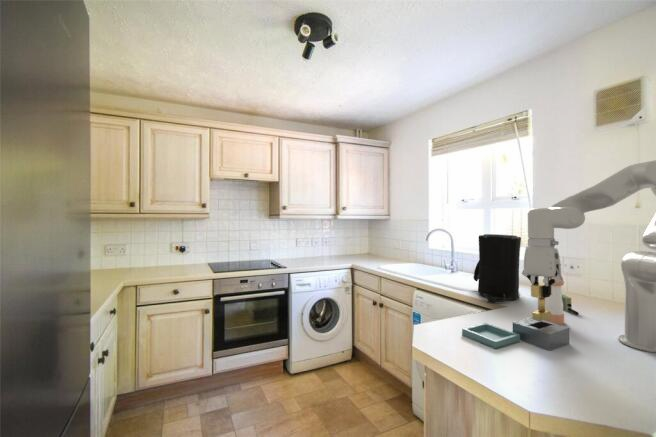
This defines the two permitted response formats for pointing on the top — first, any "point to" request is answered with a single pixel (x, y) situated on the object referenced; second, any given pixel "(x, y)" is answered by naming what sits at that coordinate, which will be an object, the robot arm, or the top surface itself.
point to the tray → (491, 335)
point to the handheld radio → (567, 304)
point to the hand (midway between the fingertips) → (541, 295)
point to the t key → (540, 302)
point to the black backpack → (498, 267)
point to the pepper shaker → (555, 304)
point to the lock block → (542, 333)
